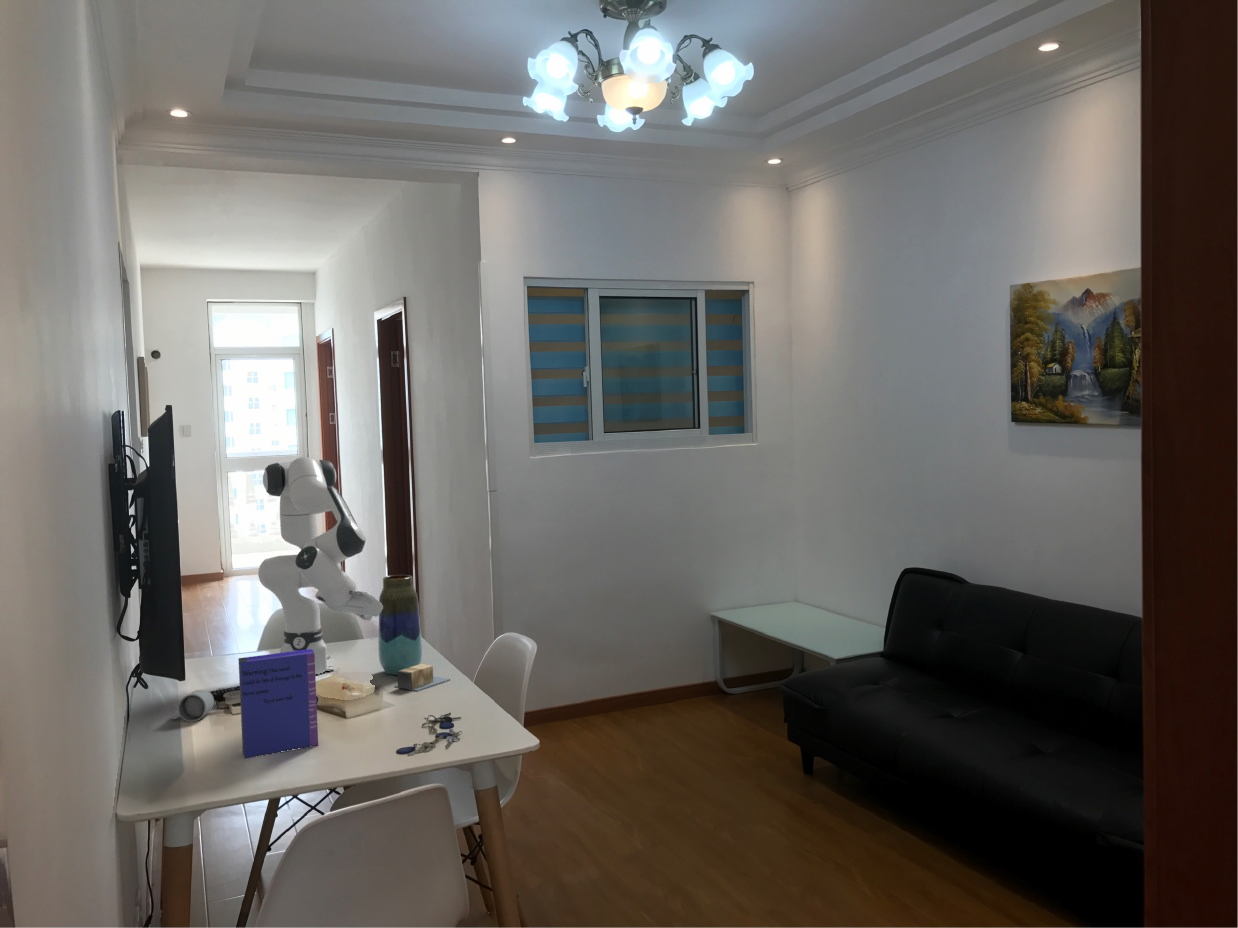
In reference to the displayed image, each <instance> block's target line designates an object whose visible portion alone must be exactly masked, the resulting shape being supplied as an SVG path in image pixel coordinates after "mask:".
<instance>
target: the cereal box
mask: <svg viewBox="0 0 1238 928" xmlns="http://www.w3.org/2000/svg"><path fill="white" fill-rule="evenodd" d="M238 674H239V675H238V678H239V698H240V699H239V701H240V703H239V704H240V723H241V744H242V746H241V747H242V748H241V749H242V755H243V757H244V759H251V758H256V756H257V757H261V755H263V756H267V755H266V754H268V755H273V754H272V753H274V754H279V753H278V752H280V753H282V752H281V751H286V752H288V751H287V750H292V749H297V750H299V749H298V748H303V749H306V748H305V747H309V748H311V747H310V746H315V747H319V733H318V732H319V731H318V730H319V728H318V727H319V726H318V707H317V706H318V705H317V704H318V702H317V684H316V683H317V682H316V675H315V654H314V651H313V650H312V649H307V650H299V651H292V652H284V653H280V652H279V653H270V654H262V655H254V656H247V657H239V658H238ZM292 751H293V750H292ZM250 757H251V758H250Z"/></svg>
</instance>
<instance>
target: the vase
mask: <svg viewBox="0 0 1238 928" xmlns="http://www.w3.org/2000/svg"><path fill="white" fill-rule="evenodd" d="M413 582H414V581H413V576H412V575H410V574H396V575H395V574H394V575H387V576H384V577H383V578H382V589H381V591H380V594H379V597H378V598H379V599H378V601H379V602H380V603H381V604H382V605H383V609H382V611H381V612H380V614H379V615H378V638H377V639H378V640H377V641H378V648H377V649H378V659H379V664H380V666H381V667H382V669H383V670H384V672H385V673H386V674H388V675H390V676H391V675H392V676H397V671H399V670H403V669H406V668H409V667H413V666H416V665H419V664H421V662H422V657H423V643H422V642H423V638H422V628H421V617H420V608H419V607H420V606H419V598H418V593H417V591H416V589H415V588H414V583H413Z"/></svg>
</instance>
